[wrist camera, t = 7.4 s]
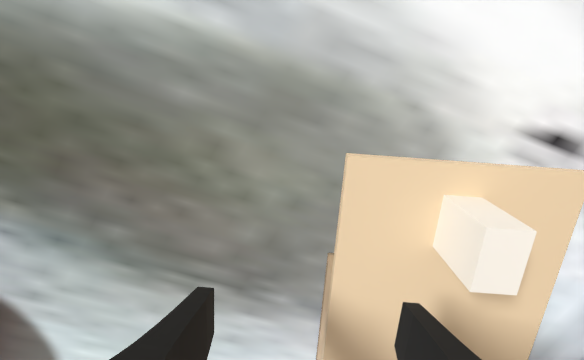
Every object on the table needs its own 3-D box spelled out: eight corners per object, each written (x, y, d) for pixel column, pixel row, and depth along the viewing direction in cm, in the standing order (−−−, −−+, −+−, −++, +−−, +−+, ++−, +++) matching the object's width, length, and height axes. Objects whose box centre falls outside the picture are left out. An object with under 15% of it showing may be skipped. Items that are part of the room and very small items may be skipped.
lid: (510, 383, 21) (566, 463, 16) (320, 369, 21) (325, 445, 16) (583, 170, 17) (685, 201, 12) (346, 153, 17) (362, 177, 12)
